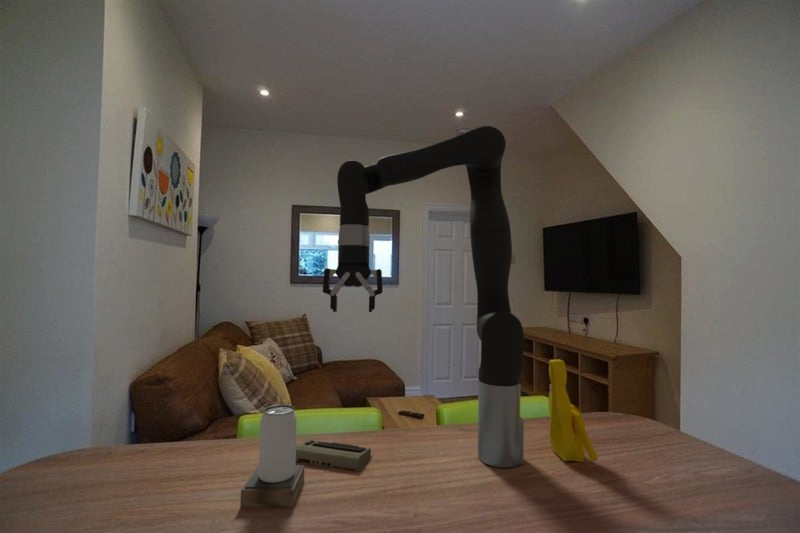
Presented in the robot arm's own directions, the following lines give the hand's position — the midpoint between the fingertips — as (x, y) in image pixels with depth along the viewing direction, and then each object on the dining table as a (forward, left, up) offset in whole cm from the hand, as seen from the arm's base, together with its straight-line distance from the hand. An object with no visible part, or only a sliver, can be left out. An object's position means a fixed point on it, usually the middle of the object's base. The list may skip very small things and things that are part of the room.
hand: (352, 311), depth 93 cm
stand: (+12, +20, -32) cm, 40 cm away
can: (+12, +20, -29) cm, 37 cm away
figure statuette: (-50, +5, -32) cm, 60 cm away
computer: (+4, +6, -33) cm, 33 cm away
